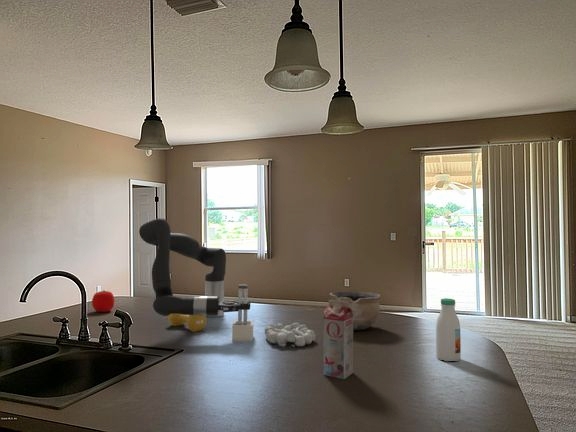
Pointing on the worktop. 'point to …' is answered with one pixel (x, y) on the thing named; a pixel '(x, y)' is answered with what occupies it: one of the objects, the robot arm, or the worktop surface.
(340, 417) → the worktop surface
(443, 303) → the milk bottle
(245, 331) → the open box
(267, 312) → the worktop surface
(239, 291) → the grey long square block
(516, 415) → the worktop surface
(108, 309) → the tomato
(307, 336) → the campfire
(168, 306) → the robot arm
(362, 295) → the ceramic bowl
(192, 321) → the dumbbell
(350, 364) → the juice carton
